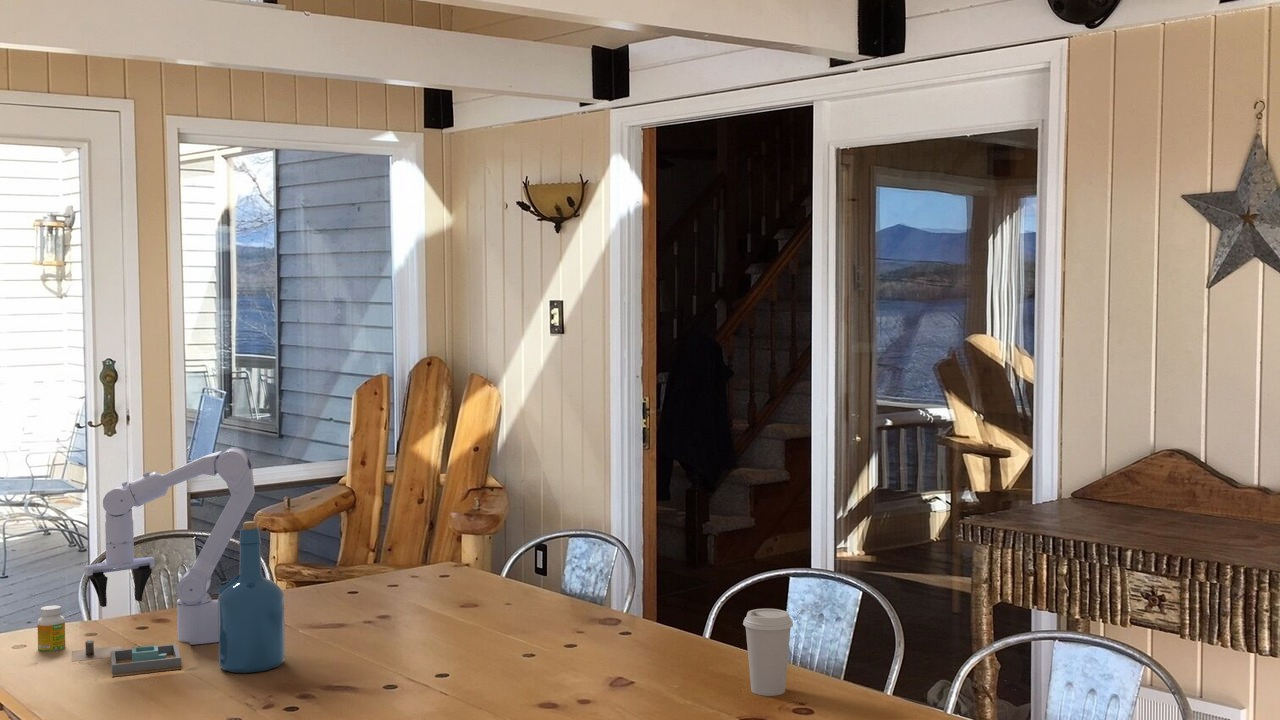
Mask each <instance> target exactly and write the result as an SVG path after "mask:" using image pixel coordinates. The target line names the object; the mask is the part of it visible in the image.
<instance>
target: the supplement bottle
mask: <svg viewBox="0 0 1280 720" xmlns="http://www.w3.org/2000/svg"><path fill="white" fill-rule="evenodd" d="M61 614H62V606H60V605H47V606H46V605H45V606H42V607H40V616H41V617H39V618H38V620H37V624H36V625H37V651H38V652H45V653H47V652H55V651H60V650H64V649H65V648H66V619H65V616H63V615H61Z"/></svg>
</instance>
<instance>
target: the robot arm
mask: <svg viewBox="0 0 1280 720" xmlns="http://www.w3.org/2000/svg"><path fill="white" fill-rule="evenodd" d="M253 473H254V472H253V463H252V462H251V459H250V457H249V455H248V454H247V452H246V451H245V450H243V449H242V448H240V447H237V446H236V447H229V448H227V449H225V450H224V451H223V450H220V451H216V452H213V453H210V454H207V455H204V456H201V457H198V458H197V459H195V460H193V461H190V462H188V463H186V464H184V465H182V466H179V467H177V468H175V469H172V470H170V471H168V472H166V473H164V474H163V473H160V472H157V471H153V472H150V471H146V472H144V473H143V474H142V476H141V477H138V478H136V479H134V480H132V481H129V482H128V481H124V482H122V483H121V486H117V487H114V488H112V489H111V490H110V491H108V492H107V493H106V494H105V495H104V497H103V499H102V507H103V509H104V511H105V522H104V523H105V525H104V527H105V529H104V531H105V561H103V562H98V563H94V564H93V563H92V564H88V565H84V575H85V576H88V579H89V581H90V583H92V585H93V588H94V590H95V592H96V595H97V598H98V601H99V602H98V603H99V606H100V607H101V608H105V607H107V604H108V601H107V588H108V587H107V585H108V578H109V577H107V576H106V573H113V572H119V571H120V572H121V571H127V570H132V573H133V579H134V581H133V582H134V600H135V601H136V602H142V601H143V595H144V591H145V588H146V585H147V583H148V581H149V578H150V576H151V575H152V573H153V569H152V568H153V567H156V565H155V564H156V563H155V560H156V558H155V557H152V556H147V557H138V558H135V541H134V540H135V537H134V535H135V534H134V532H135V531H134V519H133V507H136V508H138V507H141V506H144V505H146V504H147V503H151V502H152V501H155V500H157V499H160V498H163V497H164V496H166V495H167V493H168V490H169V488H170V487H173V486H175V485H178V484H181V483H183V482H185V481H188V480H191V479H193V478H196V477H198V476H201V475H206V476H214V477H215V476H216V475H217V474H218V475H219V476H220V477H221V478H222V479H223V481H224V483H226V485H227V488H228V491H229V494H230V497H229V499H228V501H227V503H226V505H225V506H224V508H223V510H222V512H221V514H220V515H219V517H218V520H217V521H216V523H215V525H214V527H213V529H212V530H211V531H210V534H209V536H208V538H207V539H206V541H205V543H204V545H203V546H202V548H201V550H200V552H199V554H198V556H197V557H196V560H195V562H194V563H193V564H192V567H191V568H189V569H188V570H187V571H185V572H184V574H183V575H182V578H181V579H180V580H179V581H178V583H177V585H176V588H175V592H176V595H177V598H178V599H177V600H176V613H177V614H176V616H177V617H176V618H177V620H176V621H177V624H176V626H177V627H176V628H177V640H178V642H183V643H188V644H189V646H194V645H195V646H196V645H203V644H205V645H206V644H213V643H218V599H212V596H210V594H209V593H208V592H207V591H208V590H209V589H210V587H211V583H212V574H213V572H214V571H215V568H216V567H217V565H218V563H219V562H220V559H221V557H222V556H223V553H224V552H225V549H226V548H227V547H228V545H229V543H230V541H231V539H232V537H233V535H234V534H235V532H236V530H237V528H238V526H239V524H240V522H241V520H242V519H243V517H244V515H245V513H246V512H247V510H248V508H249V506H250V504H251V502H252V501H253V498H254V497H255V493H256V491H255V483H254V474H253ZM151 567H152V568H151Z"/></svg>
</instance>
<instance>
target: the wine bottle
mask: <svg viewBox="0 0 1280 720" xmlns="http://www.w3.org/2000/svg"><path fill="white" fill-rule="evenodd" d="M239 531H240V533H239V540H238V541H239V543H238V545H239V574H238V575H236V576H234V577H233V578H232V579H230V580H228V582H226V583H225V584H223V585H222V586H221V587H220V588H219V590H218V591H217V592H218V597H217V600H218V642H217V645H218V646H217V648H218V649H217V650H218V663H219V666H220V667H221V670H222V671H227V672H231V673H233V674H234V673H236V674H252V673H261V672H265V671H268V670H272V669H275V668H277V667H279V666H281V665H282V664H284V661H285V659H286V642H285V641H286V639H285V638H286V637H285V636H286V632H285V629H286V628H285V626H286V625H285V623H286V622H285V594H284V593H283V590H282V588H281V587H280V586H279V585H278V584H277V583H276V582H275V581H273V580H271V579H268V578H265V577H264V576H263V573H262V557H261V555H262V554H261V552H262V551H261V544H262V540H261V539H262V538H261V534H260V533H261V532H260V528H259V527H258V523H257V521H254V520H253V521H252V520H250V521H245V522H243V523H242V528H241V529H240V530H239Z"/></svg>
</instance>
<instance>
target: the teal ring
mask: <svg viewBox="0 0 1280 720" xmlns="http://www.w3.org/2000/svg"><path fill="white" fill-rule="evenodd" d="M158 646H159V645H158V644H154V645H144V646H142V645H141V646H134V647H133V646H132V647H131V649H132V658H131V662H138V661H147V660H156V659H165V658H167V654H166V653H163V654H158Z"/></svg>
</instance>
